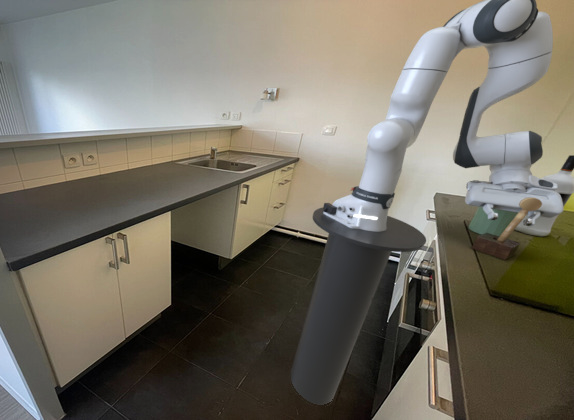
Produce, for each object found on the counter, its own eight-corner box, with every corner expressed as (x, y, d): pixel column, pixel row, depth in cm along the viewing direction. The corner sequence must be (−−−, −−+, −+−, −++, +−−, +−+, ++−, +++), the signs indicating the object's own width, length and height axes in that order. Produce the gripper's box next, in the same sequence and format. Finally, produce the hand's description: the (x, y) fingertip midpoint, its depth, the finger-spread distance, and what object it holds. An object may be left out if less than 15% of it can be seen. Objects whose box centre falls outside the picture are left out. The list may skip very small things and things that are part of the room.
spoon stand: (471, 248, 82) (477, 236, 80) (480, 243, 85) (486, 232, 83) (505, 260, 75) (512, 247, 74) (513, 255, 79) (521, 242, 77)
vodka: (508, 229, 97) (553, 154, 86) (511, 224, 102) (553, 152, 91) (546, 239, 90) (600, 158, 79) (547, 233, 95) (598, 156, 84)
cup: (464, 228, 96) (479, 198, 91) (473, 225, 100) (489, 195, 95) (498, 239, 89) (517, 206, 84) (507, 235, 93) (526, 203, 88)
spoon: (484, 250, 80) (527, 196, 72) (482, 248, 82) (524, 195, 73) (501, 255, 79) (546, 201, 70) (498, 252, 80) (543, 199, 71)
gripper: (472, 174, 82) (471, 210, 77) (566, 185, 73) (570, 226, 68) (461, 184, 87) (459, 218, 83) (547, 195, 78) (550, 234, 74)
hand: (510, 222), depth 75 cm, fingers open, 6 cm apart
